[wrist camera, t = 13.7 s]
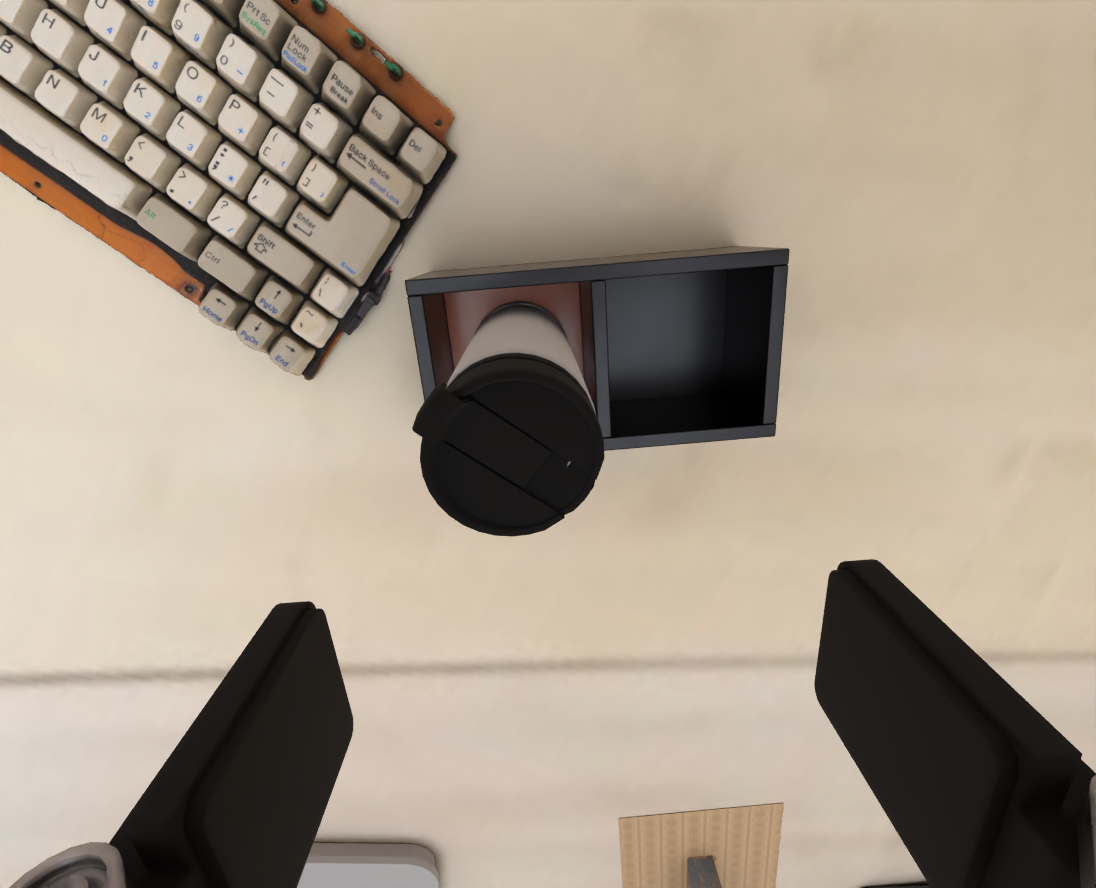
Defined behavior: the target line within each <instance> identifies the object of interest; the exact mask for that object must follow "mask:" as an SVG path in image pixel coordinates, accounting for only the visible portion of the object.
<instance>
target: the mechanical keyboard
mask: <svg viewBox="0 0 1096 888" xmlns="http://www.w3.org/2000/svg"><path fill="white" fill-rule="evenodd" d="M372 49H375V50H377V51H379V52H380V53H381V54H382V55H383V56H384V57H385V58H386V61H385V63H382V62H381V61H380V60H379V59H378V58H377V57H375V56H374V55H373V54H372V53H371V52H370V51H371V50H372ZM453 119H454V117H453V115H452V113H451V111H450V109H449V108H447V107H445V106H444V105H443V104H442V103H441V102H440V101H439V99H438V98H436V97H434V96H433V95H431V94H430V93H429V92H428V91H427V90H426V89H424V88H423V87H422V86H421V85H420V84H419V82H418V81H417V80H416V79H415V78H414V77H413V76H411V75H410V74H409V73H408V72H407V71H405V70H404V69H403V68H402V67H401V66H400V65H399V64H398V63H396V62H395V61H394V60H393V59H391V58H390V57H389V56H388V55H387V54H386V53H385V52H384V51H382V50H381V49H380V48H379V47H378V46H377V45H375V44H374V43H373V42H372V41H371V40H370V39H369V38H368V37H367V36H366V35H364V34H363V33H362V32H361V31H360V30H359V29H357V28H356V27H355V26H354V25H352V24H351V23H350V22H349V21H348V20H347V19H346V18H345V17H344V16H343V15H342V14H341V13H340V12H339V11H338V10H336V9H335V8H333V7H332V6H331V5H330V4H329V3H328V2H327V1H326V0H297V3H296V4H295V3H293V2H292V1H291V0H0V171H1V172H2V173H4V174H5V175H7V176H8V177H9V178H10V179H12V180H13V181H15V182H16V183H18V184H19V185H20V186H22V187H23V188H25V189H26V190H27V191H29V192H30V193H31V194H32V195H34V196H36V197H37V200H40V201H42V202H45V203H46V204H48V205H49V206H50V207H52V208H53V209H57V210H58V211H60V212H61V213H63V214H64V215H65V216H66V217H68V218H69V219H71V220H72V221H74V222H75V223H77V224H79V225H80V226H82V227H83V228H85V229H86V230H87V231H89V232H91V233H92V234H93V235H95V236H96V237H97V238H99V239H101V240H102V241H104V242H105V243H107V244H108V245H109V246H111V247H113V248H114V249H115V250H117V251H119V252H120V253H122V254H123V255H125V256H126V257H127V258H128V259H130V260H131V261H132V262H134V263H135V264H137V265H138V266H140V267H142V268H144V269H145V270H146V271H147V272H148V273H150V274H153V275H154V276H155V277H156V278H159V279H160V280H162V281H163V282H164V283H165V284H167V285H168V286H170V287H171V288H173V289H175V290H176V291H177V292H179V293H180V294H181V295H183V296H184V297H185V298H187V299H189V300H191V301H192V302H194V303H195V304H197V305H199V312H200V314H201V315H203V316H204V317H206V318H208V319H209V320H211V321H212V322H213V323H215V324H216V325H218V326H222V327H224V328H226V329H229V330H236V335H237V337H238V338H239V340H240V341H242V342H243V343H244V344H246V345H247V346H248V347H250V348H252V349H254V350H258V351H261V352H264V353H266V354H268V355H269V358H270V359H271V360H272V361H273V362H274V363H275V364H277V365H278V366H279V367H281V368H282V369H283V370H284V371H286V372H290V373H293V374H295V375H297V376H299V375H301V374H302V375H303V376H304V377H305V379H307V380H311V379H313V378H314V376H315V375H316V373H317V372H318V370H319V368H320V367H321V365H322V364H323V362H324V361H325V358H326V357H327V356H328V354H329V353H330V351H331V350H332V348H333V347H334V345H335V344H336V342H337V340H338V339H339V338H340V336H341V335H342V333H343V332H345V333H347V334H348V335H351V333H352V332H353V331H354V330H355V329H356V328H357V327H358V326H359V324H360V323H361V321H362V320H363V318H364V317H365V315H366V314H367V312H368V311H369V310H370V308H371V307H372V306H374V305H377V304H378V303H379V301H380V297H381V294H382V292H383V290H384V289H385V287H386V285H387V283H388V282H389V280H390V275H389V276H388V273H390V272H392V271H389V269H388V268H389V267H390V265H391V263H392V261H394V259H395V258H396V256H397V254H398V253H399V252H400V250H401V247H402V245H403V243H402V241H403V239H404V238H405V236H406V235H407V233H408V231H409V230H410V228H411V227H412V226H413V224H414V223H415V221H416V219H417V218H418V216H419V215H420V213H421V212H422V210H423V209H424V208H425V206H426V204H427V203H428V201H429V199H430V198H431V196H432V195H433V193H434V192H435V190H436V189H437V187H438V186H439V184H440V182H441V181H442V180H443V178H444V177H445V175H446V173H447V172H448V170H449V169H450V167H451V166H452V164H453V162H454V161H455V159H456V157H457V154H456V153H455V152H454V151H453V150H452V149H451V148H450V147H449V146H448V144H447V142H446V139H445V136H446V132H447V129H448V128H449V126H450V124H451V123H452V121H453ZM436 121H437V122H439V123H440V125H439V126H437V125H435V122H436ZM37 183H39V186H38V185H37ZM187 287H191V288H192V291H188V290H187Z"/></svg>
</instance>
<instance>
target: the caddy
mask: <svg viewBox="0 0 1096 888" xmlns="http://www.w3.org/2000/svg"><path fill="white" fill-rule="evenodd" d="M788 261H789V249H787V248H764V247H741V246H735V247H723V248H711V249H698V250H686V251H674V252H662V253H650V254H638V255H626V256H614V257H602V258H590V259H578V260H566V261H553V262H541V263H529V264H517V265H505V266H493V267H481V268H469V269H457V270H445V271H433V272H428V273H425V274H422V275H419V276H416V277H414V278H411V279H408V280H405V286H406V292H407V296H408V304H409V310H410V316H411V322H412V328H413V334H414V340H415V346H416V352H417V358H418V364H419V371H420V377H421V383H422V389H423V395H424V401H425V400H426V399H427V398H428V396H429V395H430V394H431V392H432V391H433V390H434V388H436V387H437V386H438V385H440V384H441V383H443V382H444V383H445V384H447V383H448V381H449V379H450V378H451V376H452V374H453V372H454V370H455V369H456V367H457V365H458V363H459V361H460V359H461V358H462V356H463V354H464V352H465V350H466V348H467V347H468V345H469V343H470V341H471V339H472V337H473V336H474V334H475V332H476V330H477V328H478V326H479V325H480V323H481V321H482V320H483V319H484V318H485V316H486V315H487V314H488V313H490V312H491V311H492V310H493V309H495V308H497V307H499V306H501V305H503V304H506V303H510V302H517V301H524V302H531V303H534V304H537V305H540V306H542V307H543V308H545V309H547V310H548V311H549V312H551V313H552V314H553V315H554V316H555V317H556V318H557V320H558V321H559V323H560V324H561V326H562V328H563V330H564V332H565V334H566V337H567V339H568V342H569V344H570V347H571V349H572V352H573V354H574V357H575V359H576V362H577V364H578V367H579V369H580V372H581V374H582V377H583V379H584V382H585V384H586V387H587V389H588V392H589V395H590V397H591V400H592V402H593V405H594V408H595V413H596V416H597V419H598V422H599V424H600V427H601V431H602V435H603V440H604V451H606V450H617V449H629V448H641V447H653V446H665V445H677V444H688V443H700V442H712V441H724V440H736V439H747V438H759V437H771V436H775V430H776V424H775V423H776V417H777V404H778V391H779V378H780V365H781V352H782V339H783V326H784V313H785V300H786V287H787V274H788V265H787V264H788Z"/></svg>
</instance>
